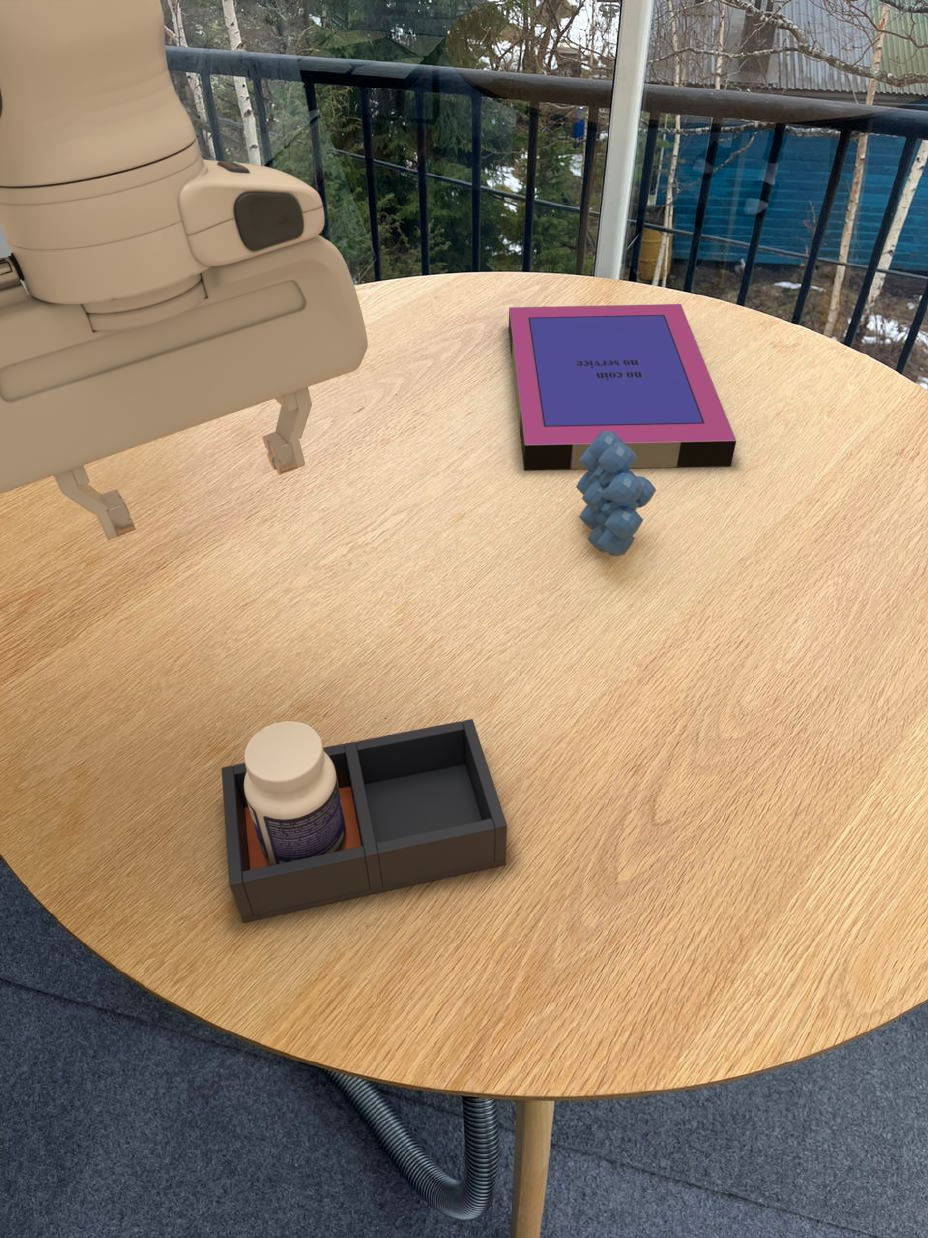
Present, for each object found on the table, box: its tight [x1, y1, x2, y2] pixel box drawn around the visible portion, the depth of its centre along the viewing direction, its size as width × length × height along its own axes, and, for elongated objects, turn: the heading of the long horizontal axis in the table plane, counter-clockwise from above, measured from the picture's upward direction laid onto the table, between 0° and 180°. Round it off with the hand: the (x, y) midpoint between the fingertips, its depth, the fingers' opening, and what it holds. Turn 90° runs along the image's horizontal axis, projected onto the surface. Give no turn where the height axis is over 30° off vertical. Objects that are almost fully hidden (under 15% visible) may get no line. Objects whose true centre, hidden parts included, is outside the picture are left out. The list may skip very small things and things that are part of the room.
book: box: [508, 303, 737, 471], centre depth 105 cm, size 21×3×30 cm
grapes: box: [575, 431, 657, 558], centre depth 82 cm, size 12×7×12 cm, turn 10°
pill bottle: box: [243, 720, 346, 866], centre depth 60 cm, size 6×6×10 cm
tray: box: [221, 718, 508, 923], centre depth 63 cm, size 17×9×5 cm, turn 104°
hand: (206, 497), depth 50 cm, fingers open, 8 cm apart
